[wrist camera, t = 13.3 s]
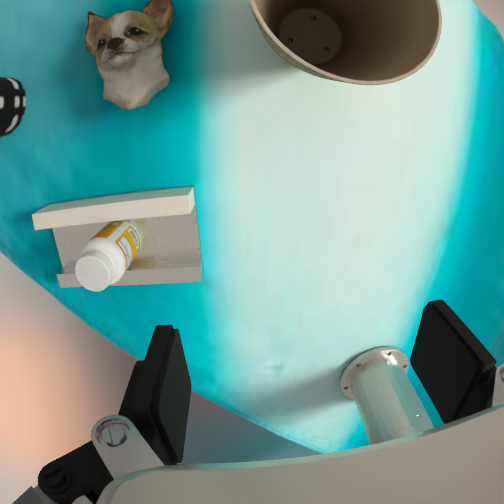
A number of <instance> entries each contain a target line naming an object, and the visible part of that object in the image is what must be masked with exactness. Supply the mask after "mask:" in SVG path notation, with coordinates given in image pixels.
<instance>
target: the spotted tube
mask: <svg viewBox="0 0 504 504" xmlns="http://www.w3.org/2000/svg"><path fill="white" fill-rule="evenodd" d="M25 106H26V95H25V90H24V88H23V86H22V84H21V83H20V82H19V81H18V80H17V79H14V78H3V77H0V136H5V135H8V134H10V133H11V132H13V131H14V130H15V129H16V128H17V126H18V125H19V124H20V122H21V120H22V117H23V115H24V111H25Z"/></svg>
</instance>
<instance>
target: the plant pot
mask: <svg viewBox="0 0 504 504" xmlns="http://www.w3.org/2000/svg"><path fill="white" fill-rule="evenodd" d="M249 2H250V6H251V9H252V11H253V14H254V17H255V19H256V21H257V24H258V26H259V28H260V30H261V32H262V34H263V35H264V37H265V38H266V40H267V41H268V43H269V44H270V45H271V47H272V48H273V49H274V50H275V51H276V52H277V53H278V54H279V55H280V56H281V57H282V58H283V59H285V60H286V61H287V62H289V63H290V64H292V65H293V66H295V67H297V68H298V69H300V70H302V71H305V72H307V73H309V74H312V75H315V76H318V77H321V78H325V79H330V80H335V81H340V82H346V83H352V84H360V85H381V84H388V83H392V82H396V81H399V80H402V79H404V78H406V77H408V76H410V75H412V74H413V73H415V72H417V71H418V70H419V69H420V68H422V67H423V66H424V65H425V64H426V63H427V62H428V60H429V59H430V58H431V56H432V55H433V53H434V51H435V49H436V47H437V44H438V42H439V38H440V34H441V26H442V18H441V9H440V5H439V1H438V0H249ZM312 16H315V19H314V20H312V18H311V17H312ZM289 39H292V40H293V42H292V43H290V42H288V40H289ZM326 47H327V48H328V49H329V51H327V50H326V49H325V48H326Z"/></svg>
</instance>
